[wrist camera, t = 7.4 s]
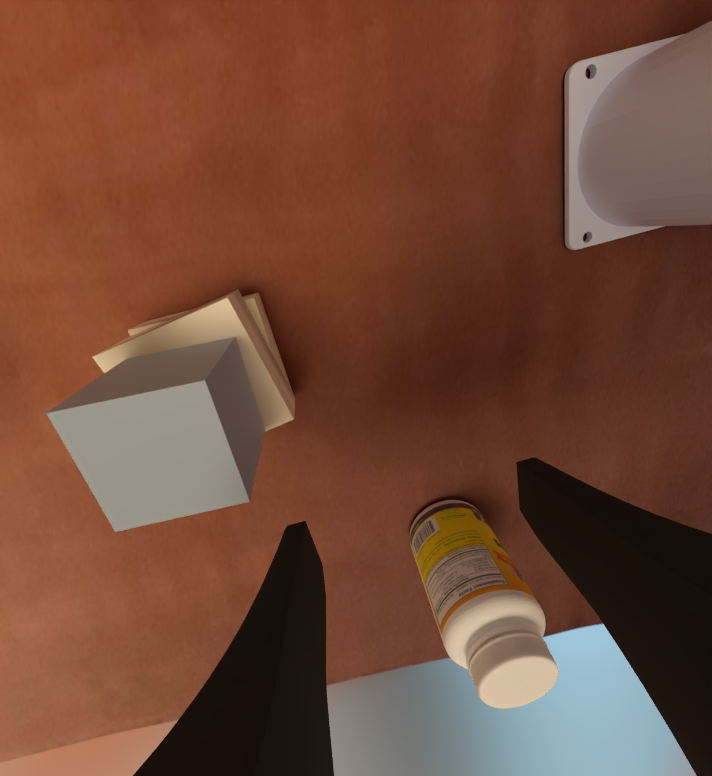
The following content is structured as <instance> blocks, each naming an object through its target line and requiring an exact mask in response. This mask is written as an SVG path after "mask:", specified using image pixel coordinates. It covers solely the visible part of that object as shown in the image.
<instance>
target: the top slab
mask: <svg viewBox="0 0 712 776" xmlns="http://www.w3.org/2000/svg"><path fill="white" fill-rule="evenodd" d="M231 337H236V340H237V343H238V346H239V349H240V353H241V356H242V359H243V362H244V365H245V368H246V372H247V375H248V378H249V381H250V384H251V387H252V391H253V394H254V397H255V400H256V403H257V406H258V409H259V413H260V416H261V419H262V422H263V425H264V428H265V431H268V430H270V429H272V428H275V427H277V426H279V425H282V424H284V423H286V422H289V421H291V420H294V411H295V396H294V394H293V392H292V390H291V388H290V386H289V384H288V383H287V381H286V379H285V377H284V375H283V373H282V371H281V369H280V367H279V365H278V364H277V362H276V360H275V358H274V356H273V354H272V352H271V350H270V348H269V347H268V345H267V343H266V341H265V339H264V337H263V335H262V333H261V331H260V329H259V328H258V326H257V324H256V322H255V320H254V318H253V316H252V314H251V312H250V311H249V309H248V307H247V305H246V303H245V301H244V299H243V297H242V295H241V293H240V292H239V290H235V291H233V292H231V293H229V294H226V295H224V296H222V297H219V298H217V299H215V300H213V301H210V302H208V303H206V304H204V305H201V306H199V307H197V308H194V309H192V310H190V311H188V312H185V313H183V314H181V315H179V316H176V317H174V318H172V319H169V320H167V321H165V322H163V323H160V324H158V325H156V326H154V327H151V328H149V329H147V330H144V331H142V332H140V333H138V334H135V335H133V336H131V337H129V338H126V339H124V340H122V341H120V342H118V343H116V344H114V345H113V346H111V347H109V348H107V349H106V350H104V351H102V352H100V353H99V354H97V355H95V356H93V359H94V360H95V361H96V363H97V364H98V365H99V367H100V368H101V369H102V371H103V372H104V373H106V372H107V371H109V370H110V369H112V368H113V367H115V366H116V365H118V364H119V363H120V362H122V361H123V360H125V359H127V358H132V357H137V356H142V355H147V354H152V353H157V352H162V351H167V350H172V349H177V348H182V347H187V346H192V345H197V344H202V343H207V342H211V341H216V340H221V339H226V338H231Z"/></svg>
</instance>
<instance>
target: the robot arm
mask: <svg viewBox="0 0 712 776" xmlns="http://www.w3.org/2000/svg"><path fill="white" fill-rule="evenodd" d="M587 68H588V69H589V70H590V78H589V79H588V78H587V77H586V74H585V72H586V69H587ZM680 225H712V20H711V21H710V22H708V23H706V24H704V25H702V26H700V27H698V28H696V29H694V30H693V31H691V32H689V33H686V34H683V35H679V36H675V37H671V38H667V39H663V40H659V41H655V42H651V43H648V44H644V45H640V46H636V47H632V48H628V49H624V50H620V51H616V52H612V53H609V54H605V55H601V56H597V57H593V58H589V59H585V60H581V61H579V62H577V63H575V64H573V65H572V66H571V67H570V68H569V69H568V70H567V72H566V74H565V245H566V247H567V248H568V249H570V250H578V249H582V248H585V247H589V246H593V245H597V244H600V243H604V242H608V241H612V240H615V239H619V238H623V237H627V236H630V235H634V234H638V233H642V232H645V231H649V230H653V229H657V228H660V227H664V226H680ZM585 233H587V238H586V240H585V241H583V235H584V234H585ZM517 475H518V489H519V504H520V510H521V512H522V514H523V515H524V517H525V519H526V520H527V522H528V524H529V525H530V527H531V528H532V530H533V532H534V533H535V535H536V536H537V538H538V539H539V540H540V542H541V543H542V544H543V546H544V547H545V548H546V549H547V551H548V552H549V553H550V554H551V556H552V557H553V558H554V560H555V561H556V562H557V563H558V565H559V566H560V567H561V568H562V570H563V571H564V572H565V573H566V575H567V576H568V577H569V578H570V580H571V581H572V582H573V583H574V585H575V586H576V587H577V589H578V590H579V591H580V592H581V594H582V595H583V596H584V597H585V599H586V600H587V601H588V603H589V604H590V605H591V607H592V608H593V609H594V611H595V612H596V613H597V615H598V616H599V618H600V619H601V621H602V622H603V624H604V625H605V627H606V628H607V630H608V631H609V633H610V634H611V636H612V637H613V639H614V640H615V642H616V643H617V645H618V646H619V648H620V650H621V651H622V653H623V654H624V656H625V657H626V659H627V661H628V662H629V664H630V665H631V667H632V668H633V670H634V672H635V673H636V675H637V676H638V678H639V679H640V681H641V683H642V684H643V685H644V687H645V689H646V691H647V692H648V694H649V696H650V697H651V699H652V700H653V702H654V704H655V706H656V707H657V709H658V710H659V712H660V714H661V715H662V717H663V719H664V720H665V722H666V724H667V725H668V727H669V729H670V730H671V732H672V733H673V735H674V737H675V739H676V740H677V742H678V744H679V746H680V747H681V749H682V751H683V752H684V754H685V756H686V758H687V759H688V761H689V763H690V765H691V766H692V768H693V770H694V772H695V773H696V775H697V776H712V534H710V533H707V532H704V531H701V530H698V529H695V528H692V527H689V526H686V525H683V524H680V523H677V522H675V521H672V520H669V519H667V518H664V517H661V516H658V515H656V514H653V513H651V512H648V511H646V510H643V509H641V508H638V507H636V506H634V505H632V504H629V503H627V502H625V501H622V500H620V499H618V498H615V497H613V496H611V495H609V494H607V493H605V492H602V491H600V490H598V489H596V488H594V487H592V486H590V485H588V484H586V483H584V482H582V481H580V480H578V479H576V478H574V477H572V476H570V475H568V474H566V473H564V472H562V471H560V470H558V469H557V468H555V467H553V466H551V465H549V464H547V463H545V462H543V461H541V460H539V459H537V458H535V457H534V458H530V459H526V460H523V461H519V462H517ZM133 776H334V771H333V760H332V749H331V739H330V727H329V715H328V703H327V690H326V593H325V583H324V575H323V566H322V562H321V560H320V557H319V555H318V552H317V550H316V547H315V544H314V542H313V539H312V537H311V534H310V532H309V529H308V527H307V524H306V521H303V522H300V523H296V524H292V525H289V526H287V527H286V529H285V531H284V534H283V536H282V539H281V541H280V544H279V547H278V549H277V552H276V554H275V556H274V559H273V561H272V564H271V566H270V568H269V570H268V573H267V575H266V577H265V579H264V582H263V584H262V586H261V588H260V590H259V592H258V594H257V596H256V598H255V600H254V602H253V604H252V606H251V608H250V610H249V612H248V614H247V616H246V618H245V620H244V621H243V623H242V625H241V627H240V629H239V630H238V632H237V634H236V636H235V637H234V639H233V641H232V642H231V644H230V646H229V647H228V649H227V651H226V652H225V654H224V656H223V657H222V659H221V660H220V662H219V663H218V665H217V666H216V668H215V669H214V671H213V673H212V674H211V676H210V677H209V679H208V680H207V682H206V683H205V684H204V686H203V687H202V689H201V690H200V692H199V693H198V695H197V696H196V697H195V699H194V700H193V701H192V703H191V704H190V705H189V707H188V708H187V709H186V711H185V712H184V713H183V715H182V716H181V717H180V719H179V720H178V721H177V723H176V724H175V725H174V727H173V728H172V730H171V731H170V732H169V733H168V735H167V736H166V737H165V738H164V740H163V741H162V742H161V743H160V744H159V746H158V747H157V748H156V749H155V751H154V752H153V753H152V754H151V755H150V756H149V758H148V759H147V760H146V761H145V762H144V763H143V765H142V766H141V767H140V768H139V769H138V771H137V772H136V773H135V774H134V775H133Z"/></svg>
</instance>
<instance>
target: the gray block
mask: <svg viewBox="0 0 712 776" xmlns="http://www.w3.org/2000/svg"><path fill="white" fill-rule="evenodd" d="M46 414H47V415H48V417H49V419H50V420H51V422H52V424H53V426H54V427H55V429H56V431H57V432H58V434H59V436H60V438H61V439H62V441H63V443H64V444H65V446H66V448H67V450H68V451H69V453H70V455H71V456H72V458H73V460H74V462H75V463H76V465H77V467H78V468H79V470H80V472H81V474H82V475H83V477H84V479H85V481H86V482H87V484H88V486H89V487H90V489H91V491H92V493H93V494H94V496H95V498H96V499H97V501H98V503H99V505H100V506H101V508H102V510H103V511H104V513H105V515H106V517H107V518H108V520H109V522H110V523H111V525H112V527H113V529H114V530H115V532H117V531H121V530H126V529H130V528H135V527H139V526H144V525H148V524H152V523H157V522H161V521H166V520H170V519H175V518H179V517H184V516H188V515H193V514H197V513H201V512H206V511H210V510H215V509H219V508H224V507H228V506H233V505H237V504H241V503H246V502H250V499H251V494H252V489H253V484H254V480H255V475H256V470H257V465H258V460H259V456H260V451H261V446H262V441H263V437H264V432H265V428H264V425H263V422H262V419H261V416H260V413H259V409H258V406H257V403H256V400H255V397H254V394H253V391H252V387H251V384H250V381H249V378H248V375H247V372H246V368H245V365H244V362H243V359H242V356H241V353H240V349H239V346H238V343H237V340H236V337H231V338H226V339H221V340H216V341H211V342H207V343H202V344H197V345H192V346H187V347H182V348H177V349H172V350H167V351H162V352H157V353H152V354H147V355H142V356H137V357H132V358H127V359H125V360H123V361H122V362H120V363H119V364H118V365H116V366H115V367H113V368H112V369H110V370H109V371H107V372H106V373H104V374H103V375H101V376H100V377H99V378H97V379H96V380H94V381H93V382H91V383H90V384H88V385H87V386H85V387H84V388H82V389H81V390H80V391H78V392H77V393H75V394H74V395H72V396H71V397H69V398H68V399H66V400H65V401H63V402H62V403H61V404H59V405H58V406H56V407H55V408H53V409H52V410H50V411H49V412H47V413H46Z"/></svg>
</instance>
